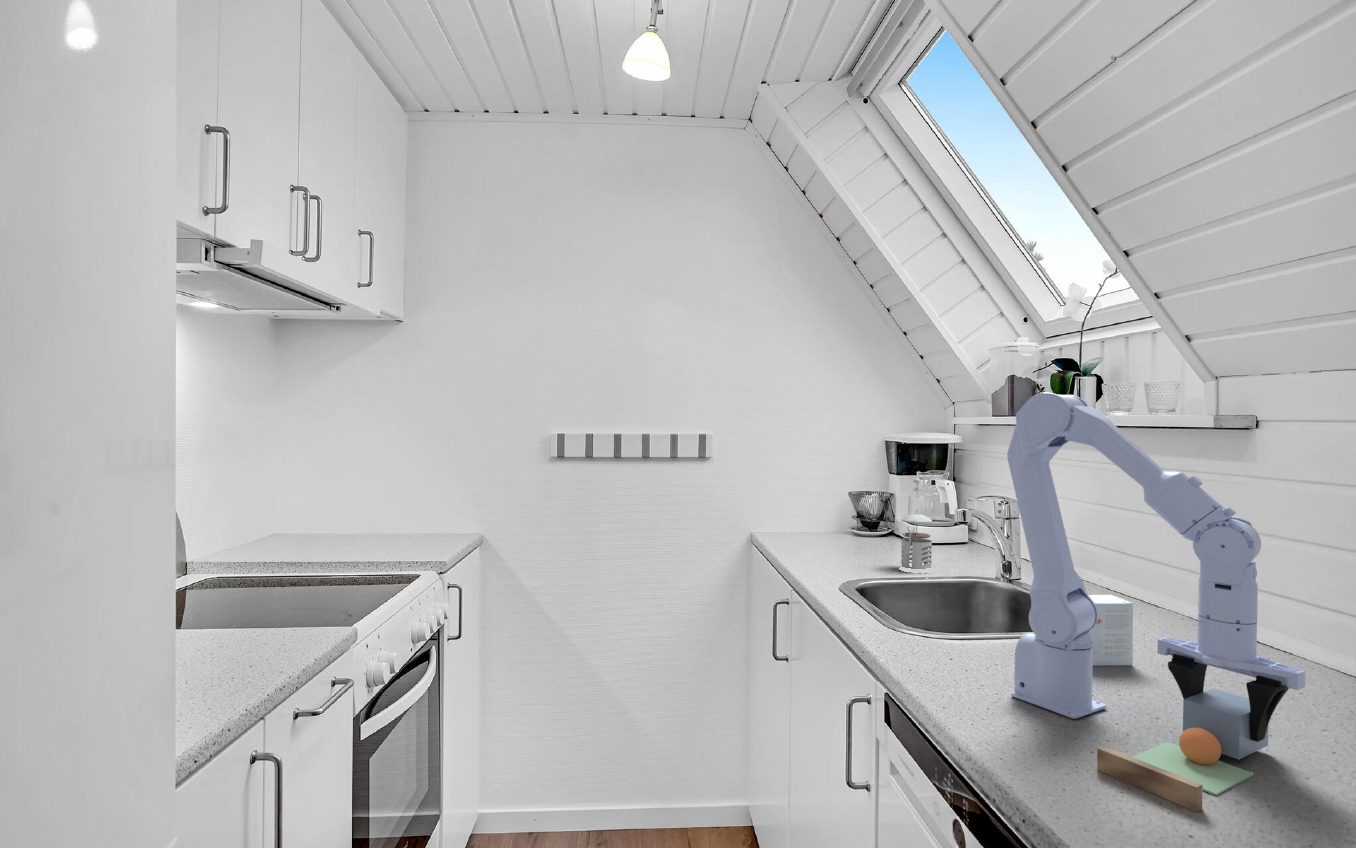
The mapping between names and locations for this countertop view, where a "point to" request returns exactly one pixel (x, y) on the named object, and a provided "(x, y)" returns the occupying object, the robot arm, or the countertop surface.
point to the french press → (916, 542)
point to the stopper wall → (1150, 778)
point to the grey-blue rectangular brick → (1223, 721)
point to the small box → (1112, 631)
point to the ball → (1200, 746)
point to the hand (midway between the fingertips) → (1225, 728)
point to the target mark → (1194, 768)
